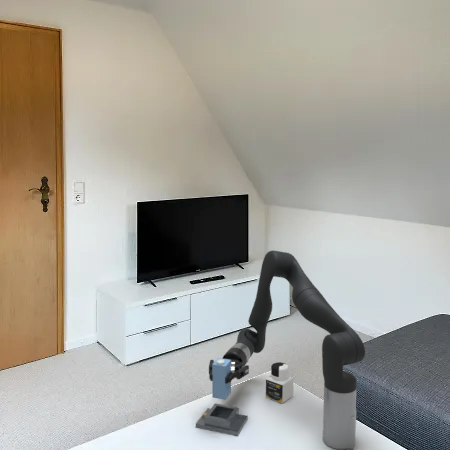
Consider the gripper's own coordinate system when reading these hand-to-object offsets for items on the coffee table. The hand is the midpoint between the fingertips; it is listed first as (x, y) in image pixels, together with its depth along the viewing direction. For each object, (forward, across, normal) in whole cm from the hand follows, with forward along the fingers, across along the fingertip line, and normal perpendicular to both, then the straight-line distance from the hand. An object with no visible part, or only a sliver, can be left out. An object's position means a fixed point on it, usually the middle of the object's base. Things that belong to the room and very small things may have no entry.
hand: (218, 379), depth 147 cm
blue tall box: (-3, 0, +6) cm, 7 cm away
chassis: (-3, 0, +16) cm, 16 cm away
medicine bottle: (-26, +13, +16) cm, 33 cm away
